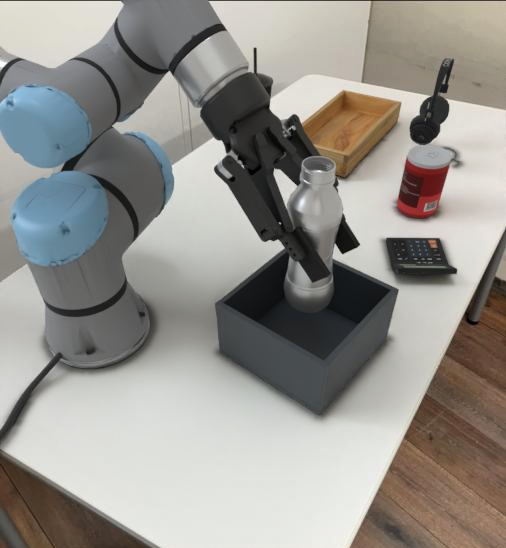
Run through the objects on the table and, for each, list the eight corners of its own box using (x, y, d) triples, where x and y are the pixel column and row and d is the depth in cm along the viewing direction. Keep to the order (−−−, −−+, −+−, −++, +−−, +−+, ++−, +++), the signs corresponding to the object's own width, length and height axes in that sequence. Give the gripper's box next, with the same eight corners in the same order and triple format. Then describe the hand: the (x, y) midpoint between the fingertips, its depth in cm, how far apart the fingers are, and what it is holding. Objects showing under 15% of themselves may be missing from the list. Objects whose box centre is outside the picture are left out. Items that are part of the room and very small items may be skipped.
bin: (319, 415, 67) (325, 367, 60) (219, 352, 75) (214, 303, 67) (386, 338, 76) (399, 289, 69) (291, 289, 84) (294, 240, 77)
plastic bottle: (305, 326, 66) (316, 187, 51) (273, 298, 69) (275, 161, 55) (342, 305, 68) (363, 167, 54) (309, 279, 72) (320, 143, 57)
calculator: (438, 242, 92) (442, 228, 90) (452, 284, 84) (458, 270, 82) (385, 241, 92) (388, 227, 90) (395, 283, 84) (398, 269, 82)
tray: (340, 111, 130) (343, 87, 125) (397, 124, 124) (402, 100, 120) (281, 163, 112) (282, 138, 108) (345, 181, 106) (348, 155, 102)
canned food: (440, 201, 101) (455, 148, 92) (432, 223, 96) (447, 169, 88) (401, 193, 103) (413, 140, 95) (391, 214, 98) (403, 160, 90)
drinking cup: (269, 151, 116) (270, 55, 101) (236, 148, 117) (232, 53, 102) (275, 135, 121) (276, 42, 106) (243, 133, 122) (240, 40, 107)
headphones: (451, 182, 105) (481, 80, 91) (397, 171, 109) (418, 71, 94) (464, 150, 115) (494, 53, 100) (414, 140, 118) (436, 45, 103)
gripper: (257, 83, 64) (354, 235, 69) (149, 140, 54) (272, 314, 59) (294, 44, 58) (397, 215, 63) (179, 101, 48) (313, 299, 53)
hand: (336, 263), depth 61 cm, fingers closed on plastic bottle, 6 cm apart
